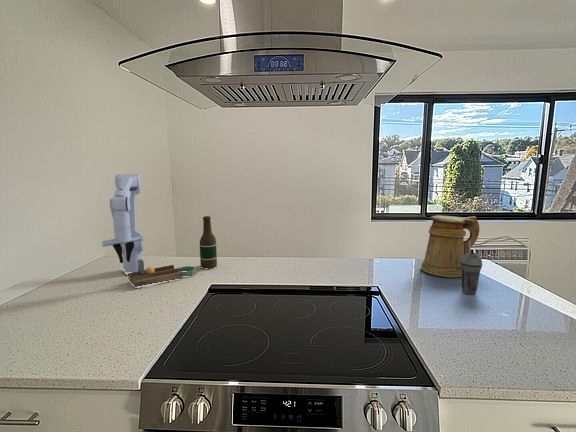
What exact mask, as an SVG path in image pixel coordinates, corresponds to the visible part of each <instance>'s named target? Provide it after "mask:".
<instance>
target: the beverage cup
mask: <svg viewBox="0 0 576 432" xmlns="http://www.w3.org/2000/svg"><path fill="white" fill-rule="evenodd" d="M471 250H472V247H471V246H470V241H469V251H468V253H466V254H465V255H464V256H463V257H462V259H461V262H460V263H461V273H462V277H461V292H462V293H461V294H463V295H465V296H476V294H477V290H478V284H479V279H480V275H481V274H480V273H481V270H482V267H483V262H482V261H483V260H482V258H481V257H480V256H479V255H478V253H476V252H472V251H471Z"/></svg>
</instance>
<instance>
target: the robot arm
mask: <svg viewBox="0 0 576 432" xmlns="http://www.w3.org/2000/svg"><path fill="white" fill-rule="evenodd" d="M114 184H115V188H116V189H115V191H114V195H113V197H111V198H110V199H109V209H110V212H111V217H112V222H113V233H114V234H113V235H114V238H111V239H108V240H102V241H101V246H102V247H103V248H105V247H110V246H111V247H113V249H114V250H115V252H116V254H117V257H118V259H119V263H120V264H122V267H123V269H125V272H137V271H138V262H137V260H140V259H142V252H143V251H144V249H145V241H144V240H145V239H144V236H143V234H142V233H141V232H139V231H138V230H137V213H136V212H137V208H136V199H137V195H139V194H141V190H142V189H141V187H142V186H141V185H142V184H141V176H140V174H139V173H130V174H129V173H127V174H124V173H123V174H121V173H116V174H115V176H114Z"/></svg>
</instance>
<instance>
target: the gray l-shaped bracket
mask: <svg viewBox="0 0 576 432" xmlns="http://www.w3.org/2000/svg"><path fill="white" fill-rule="evenodd" d="M137 262H138V276H140V275H145V274H146V269H145V263H144V260H143V259H142V258H141V259H140V260H137Z"/></svg>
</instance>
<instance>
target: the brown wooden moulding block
mask: <svg viewBox="0 0 576 432" xmlns="http://www.w3.org/2000/svg"><path fill="white" fill-rule="evenodd" d="M153 268H154V270H155V272H154V273H150V274H145V275H140V276H138V271H137V272H132V273H129V276H128V281H129V280H130V282H131V283H132V284H133V285H134V286H135V287H137V286H142V285H147V284H152V283H158V282H163V281H169V280H175V279H180V278H181V274H180V272H179V268H180V267H177V268H175V265H174V264H170V265H169V264H168V265H165V266H159V267H153ZM181 279H182V278H181Z"/></svg>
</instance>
